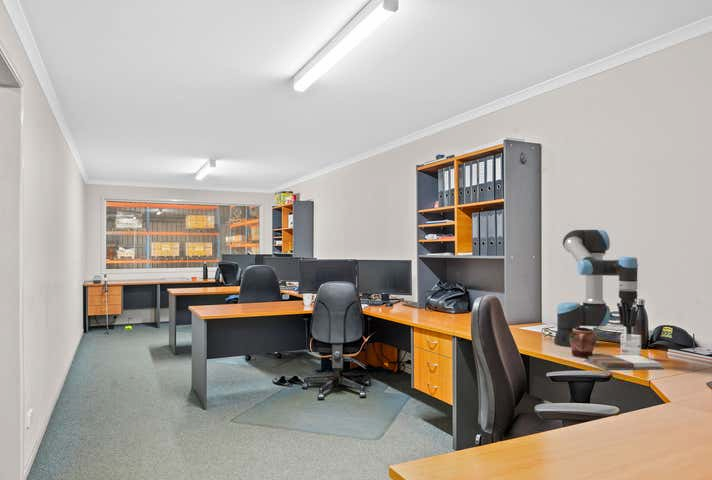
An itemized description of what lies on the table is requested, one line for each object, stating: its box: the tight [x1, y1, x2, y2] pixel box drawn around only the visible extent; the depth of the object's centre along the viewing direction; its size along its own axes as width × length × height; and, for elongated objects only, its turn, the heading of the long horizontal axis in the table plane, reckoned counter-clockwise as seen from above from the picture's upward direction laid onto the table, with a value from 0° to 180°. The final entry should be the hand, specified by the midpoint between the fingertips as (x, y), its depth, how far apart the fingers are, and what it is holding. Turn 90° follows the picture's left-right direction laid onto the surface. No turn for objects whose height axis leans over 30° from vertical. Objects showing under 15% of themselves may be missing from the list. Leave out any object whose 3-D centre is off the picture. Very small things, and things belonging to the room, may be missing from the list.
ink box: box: [620, 332, 642, 356], centre depth 235 cm, size 9×5×12 cm, turn 53°
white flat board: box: [613, 354, 660, 367], centre depth 221 cm, size 15×12×2 cm
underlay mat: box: [583, 359, 665, 371], centre depth 221 cm, size 17×28×1 cm, turn 94°
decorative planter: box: [569, 327, 597, 359], centre depth 238 cm, size 20×12×14 cm, turn 156°
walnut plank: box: [587, 355, 633, 368], centre depth 220 cm, size 15×12×2 cm
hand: (627, 340), depth 222 cm, fingers closed
